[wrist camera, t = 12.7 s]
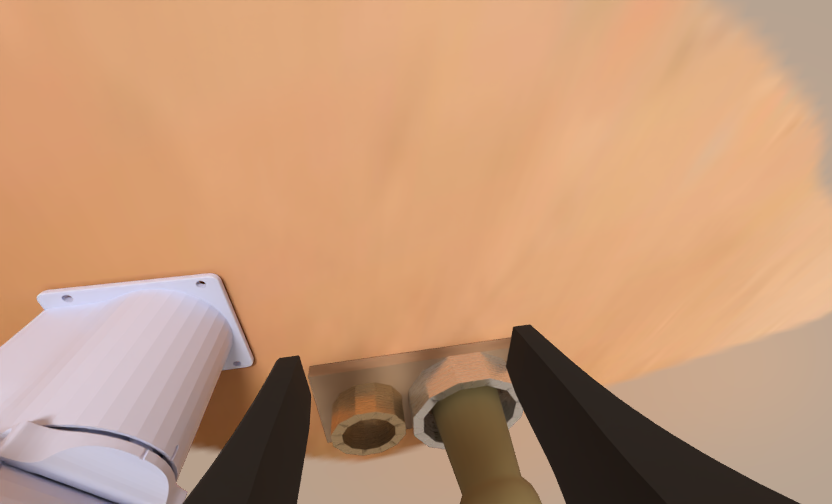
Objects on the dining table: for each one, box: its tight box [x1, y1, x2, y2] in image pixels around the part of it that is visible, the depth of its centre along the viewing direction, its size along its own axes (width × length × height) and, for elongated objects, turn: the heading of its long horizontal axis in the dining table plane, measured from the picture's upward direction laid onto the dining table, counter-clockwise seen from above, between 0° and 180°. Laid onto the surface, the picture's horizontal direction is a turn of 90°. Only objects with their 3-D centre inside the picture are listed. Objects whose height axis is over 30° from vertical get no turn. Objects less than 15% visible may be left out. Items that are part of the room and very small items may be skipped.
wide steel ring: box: [409, 352, 523, 449], centre depth 27 cm, size 9×9×2 cm
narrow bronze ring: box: [331, 382, 406, 455], centre depth 26 cm, size 6×6×2 cm
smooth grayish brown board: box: [308, 338, 511, 443], centre depth 28 cm, size 17×9×1 cm, turn 92°
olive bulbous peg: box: [431, 386, 542, 504], centre depth 23 cm, size 6×6×11 cm
